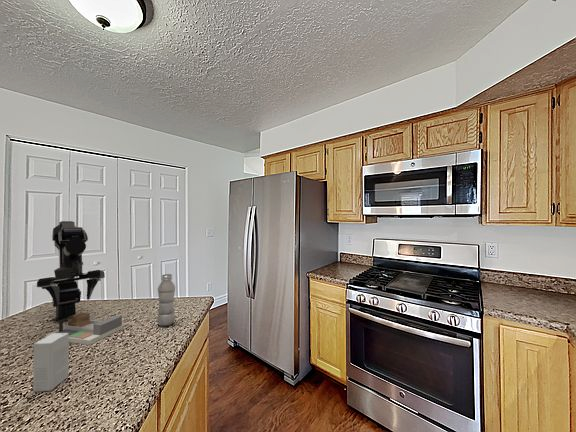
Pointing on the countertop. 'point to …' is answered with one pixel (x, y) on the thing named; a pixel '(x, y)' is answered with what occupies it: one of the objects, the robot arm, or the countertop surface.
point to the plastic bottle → (166, 301)
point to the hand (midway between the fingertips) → (73, 302)
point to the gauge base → (92, 330)
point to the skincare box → (50, 361)
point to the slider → (76, 320)
